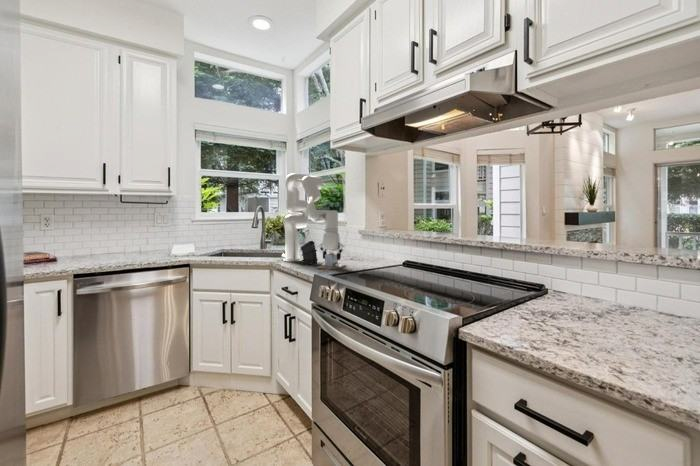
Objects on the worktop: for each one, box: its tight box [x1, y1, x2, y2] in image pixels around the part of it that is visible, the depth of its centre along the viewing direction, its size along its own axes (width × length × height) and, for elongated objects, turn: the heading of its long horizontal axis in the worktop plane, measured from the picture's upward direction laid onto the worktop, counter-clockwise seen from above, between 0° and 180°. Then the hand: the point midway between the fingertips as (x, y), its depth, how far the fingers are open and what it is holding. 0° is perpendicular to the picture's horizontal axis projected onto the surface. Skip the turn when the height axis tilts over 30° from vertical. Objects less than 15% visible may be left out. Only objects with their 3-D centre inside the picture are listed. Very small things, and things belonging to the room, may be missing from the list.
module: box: [324, 251, 339, 267], centre depth 200 cm, size 5×7×8 cm
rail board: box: [316, 261, 347, 271], centre depth 200 cm, size 12×14×2 cm
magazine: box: [299, 240, 319, 266], centre depth 214 cm, size 4×13×15 cm, turn 46°
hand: (331, 259), depth 200 cm, fingers open, 9 cm apart
